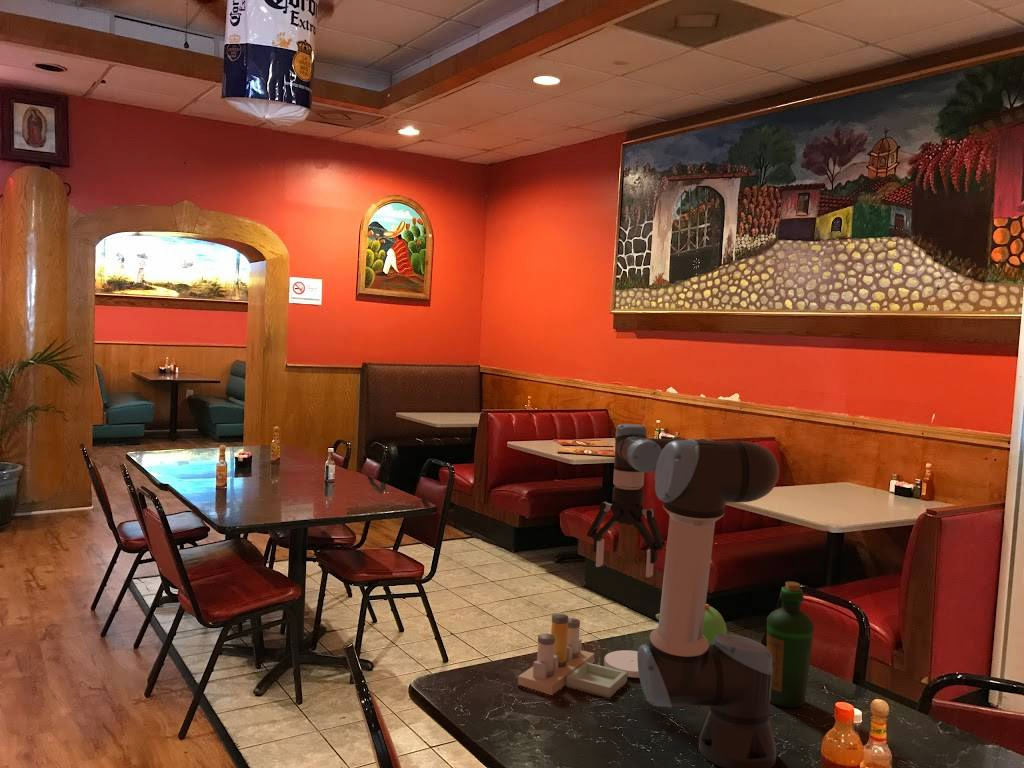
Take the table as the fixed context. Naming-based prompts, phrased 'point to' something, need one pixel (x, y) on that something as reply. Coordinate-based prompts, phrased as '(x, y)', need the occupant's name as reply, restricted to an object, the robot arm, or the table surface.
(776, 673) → the bottle
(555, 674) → the block
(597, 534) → the robot arm
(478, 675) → the table surface
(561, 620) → the cylinder
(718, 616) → the toy bird
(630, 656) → the plastic lid
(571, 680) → the tray
